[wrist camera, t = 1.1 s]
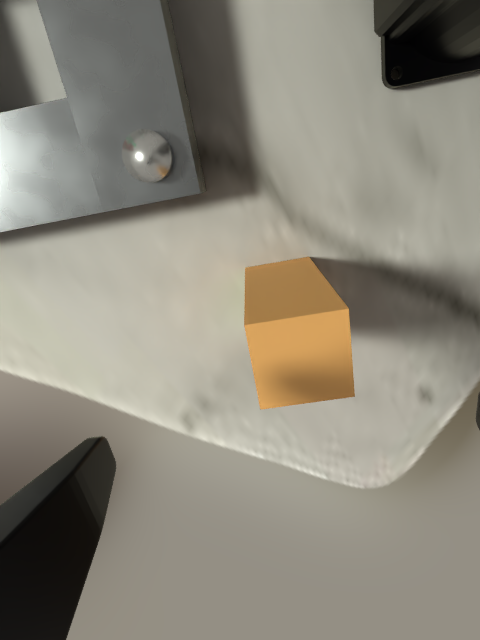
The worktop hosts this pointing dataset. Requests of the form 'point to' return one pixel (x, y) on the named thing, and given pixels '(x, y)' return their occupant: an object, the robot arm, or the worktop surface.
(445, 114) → the worktop surface
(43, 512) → the robot arm
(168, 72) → the grey square hole plate
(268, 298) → the tan square peg
